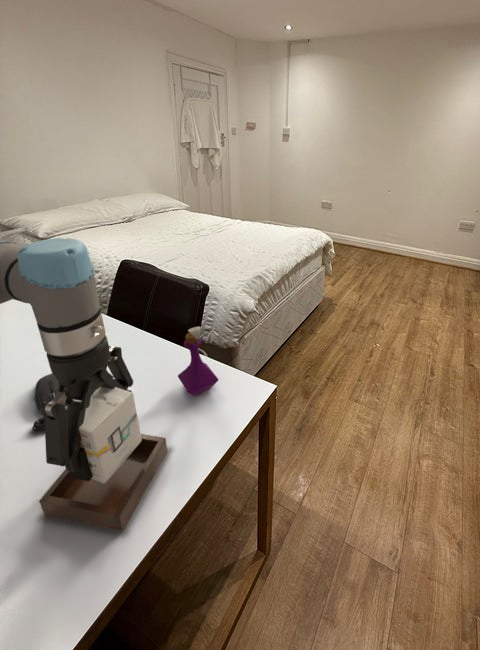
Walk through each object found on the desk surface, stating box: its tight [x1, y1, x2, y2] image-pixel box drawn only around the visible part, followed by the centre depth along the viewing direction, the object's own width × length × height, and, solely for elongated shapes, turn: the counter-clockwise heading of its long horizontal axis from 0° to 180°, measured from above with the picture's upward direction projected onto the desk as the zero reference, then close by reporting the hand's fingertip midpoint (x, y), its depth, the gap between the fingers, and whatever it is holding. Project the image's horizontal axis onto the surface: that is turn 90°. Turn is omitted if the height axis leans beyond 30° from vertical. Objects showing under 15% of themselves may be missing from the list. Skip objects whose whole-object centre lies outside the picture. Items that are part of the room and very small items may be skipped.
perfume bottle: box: [177, 326, 219, 397], centre depth 77 cm, size 8×8×18 cm
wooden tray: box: [38, 433, 168, 532], centre depth 58 cm, size 14×14×4 cm
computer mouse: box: [31, 373, 59, 432], centre depth 75 cm, size 12×18×4 cm
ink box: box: [73, 387, 142, 483], centre depth 54 cm, size 8×8×12 cm
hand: (104, 449), depth 56 cm, fingers closed on ink box, 9 cm apart
